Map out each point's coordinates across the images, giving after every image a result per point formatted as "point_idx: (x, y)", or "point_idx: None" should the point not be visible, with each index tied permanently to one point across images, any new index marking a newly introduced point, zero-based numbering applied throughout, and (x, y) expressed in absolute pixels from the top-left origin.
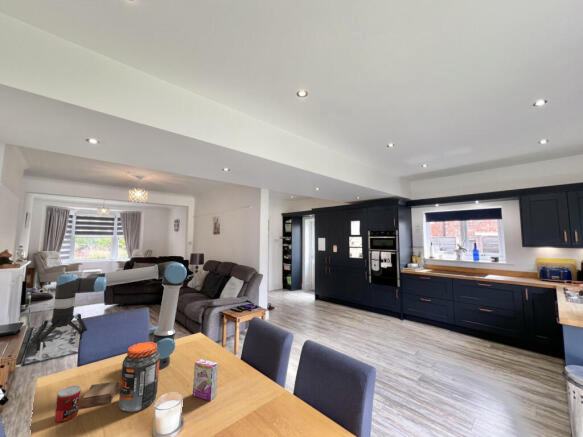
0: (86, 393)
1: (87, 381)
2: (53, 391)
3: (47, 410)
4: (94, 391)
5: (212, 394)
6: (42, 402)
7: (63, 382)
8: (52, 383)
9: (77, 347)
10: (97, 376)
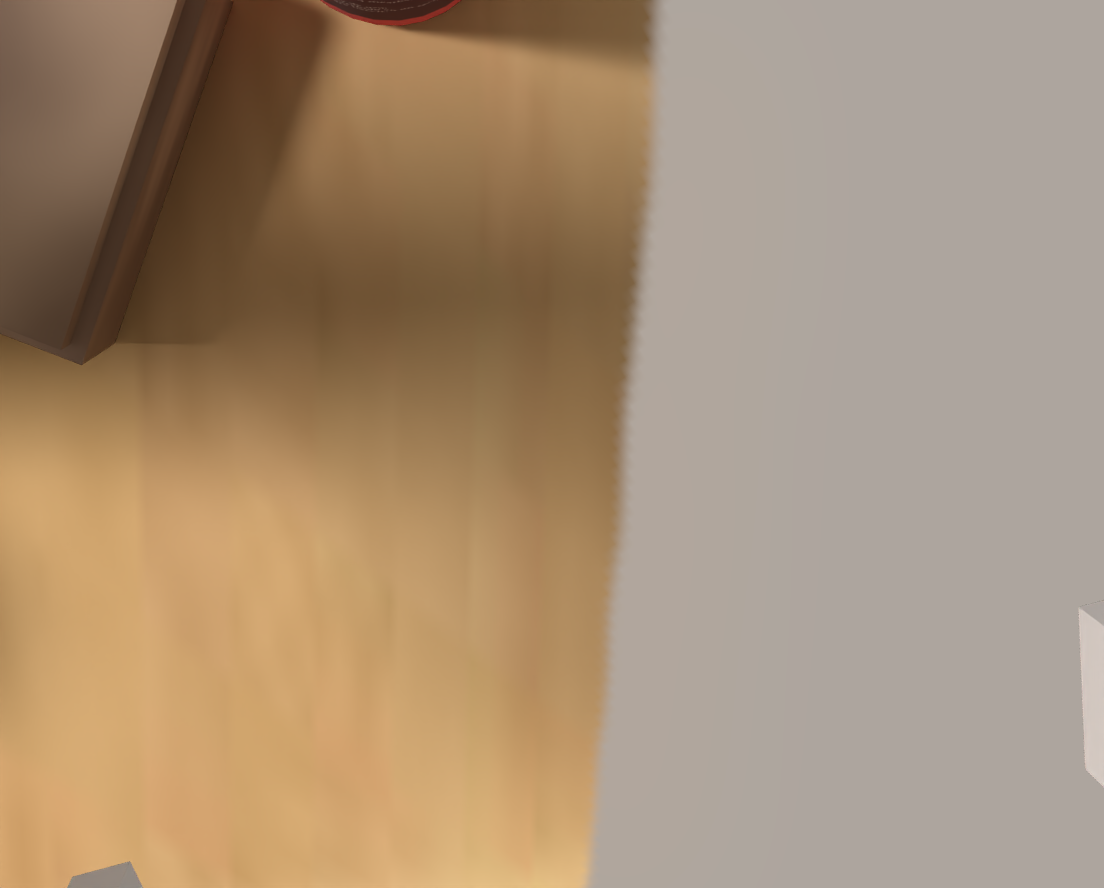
0: (131, 105)
1: (152, 683)
2: (493, 668)
3: (560, 247)
4: (17, 81)
5: None
6: (596, 483)
7: (398, 818)
8: (497, 859)
9: (102, 873)
10: (36, 744)
